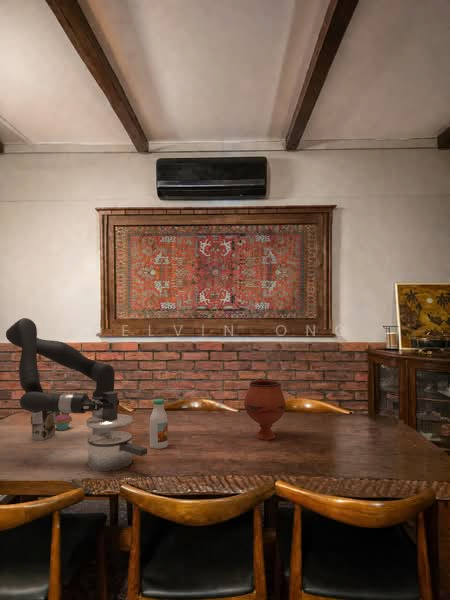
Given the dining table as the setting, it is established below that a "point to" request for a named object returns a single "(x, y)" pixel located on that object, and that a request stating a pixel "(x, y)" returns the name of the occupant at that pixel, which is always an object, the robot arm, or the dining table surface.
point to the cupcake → (62, 421)
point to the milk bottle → (158, 426)
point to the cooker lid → (109, 415)
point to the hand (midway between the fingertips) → (116, 404)
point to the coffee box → (43, 425)
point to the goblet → (265, 405)
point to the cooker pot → (112, 450)
